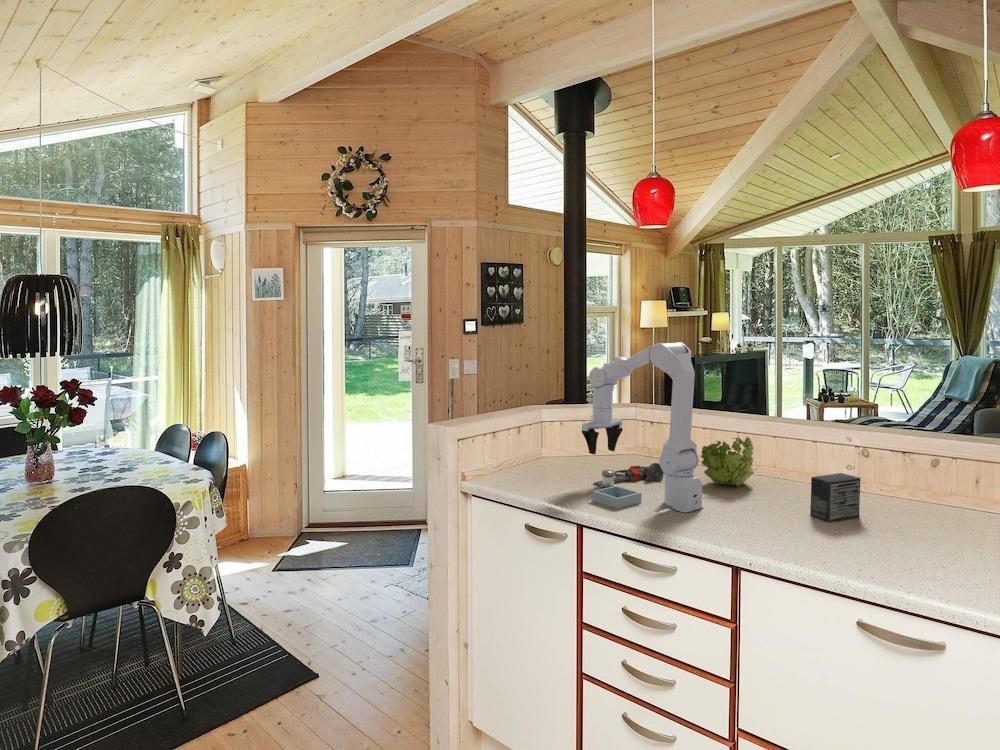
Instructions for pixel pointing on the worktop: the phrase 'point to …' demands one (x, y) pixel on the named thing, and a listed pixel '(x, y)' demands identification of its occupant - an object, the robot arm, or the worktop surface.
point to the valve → (638, 474)
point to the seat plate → (598, 488)
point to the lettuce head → (728, 462)
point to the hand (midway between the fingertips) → (602, 452)
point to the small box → (835, 497)
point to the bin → (609, 499)
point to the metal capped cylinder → (608, 478)
